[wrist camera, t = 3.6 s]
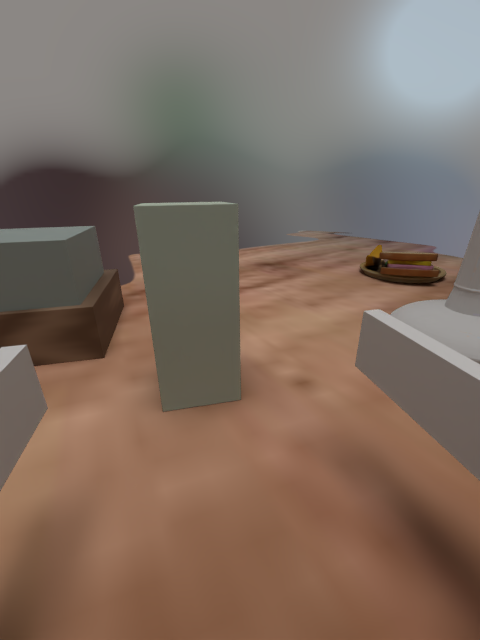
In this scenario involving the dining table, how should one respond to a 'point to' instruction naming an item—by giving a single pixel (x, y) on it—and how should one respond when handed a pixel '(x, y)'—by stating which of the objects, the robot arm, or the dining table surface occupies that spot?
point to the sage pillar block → (192, 299)
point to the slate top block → (47, 266)
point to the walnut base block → (67, 326)
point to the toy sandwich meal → (402, 266)
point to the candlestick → (453, 308)
